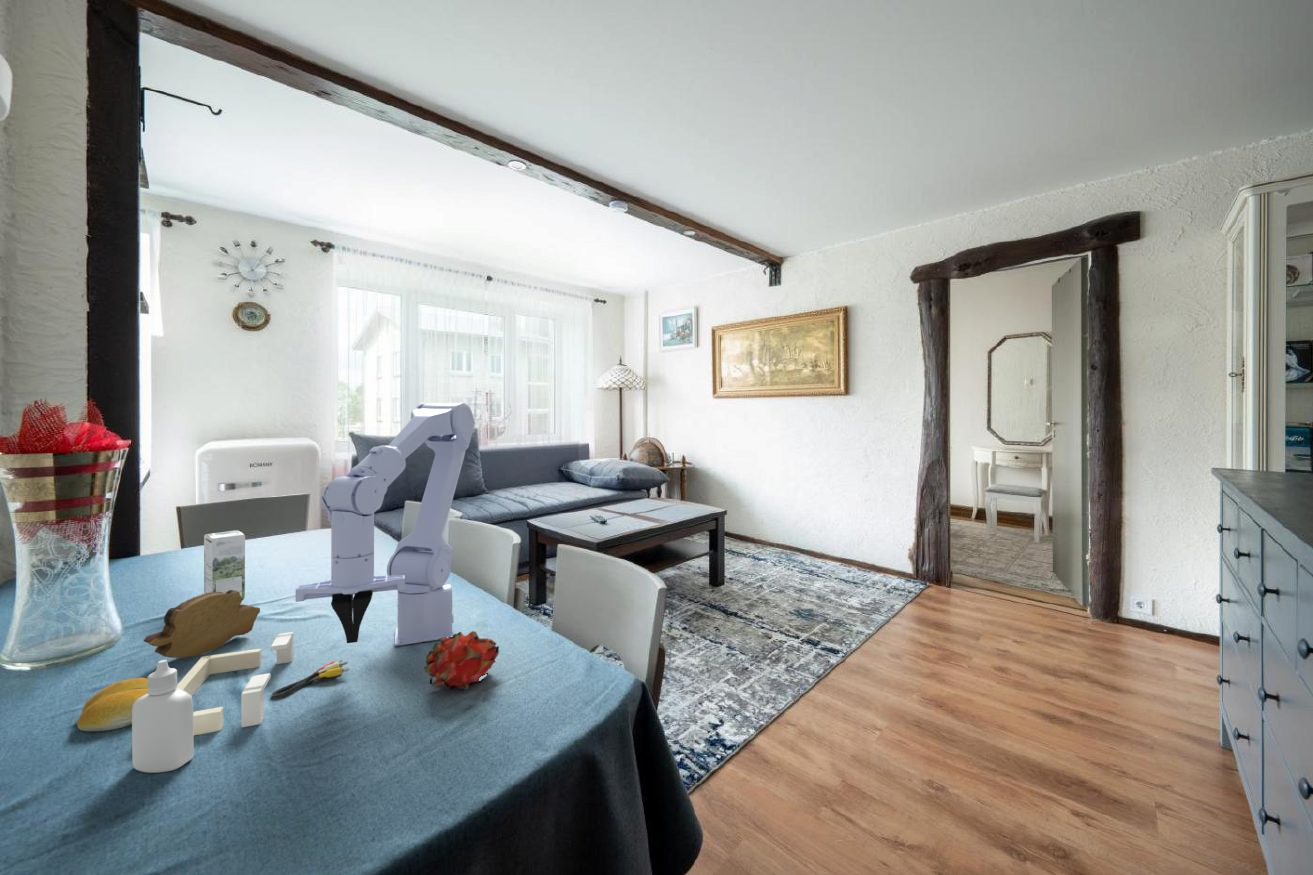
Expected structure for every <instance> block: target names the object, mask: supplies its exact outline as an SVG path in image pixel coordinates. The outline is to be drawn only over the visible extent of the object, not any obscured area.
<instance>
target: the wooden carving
mask: <svg viewBox="0 0 1313 875" xmlns="http://www.w3.org/2000/svg"><path fill="white" fill-rule="evenodd" d="M242 602H243V599H242V597H241V595H240V593H239V592H238V591H233V590H229V591H227V592H226V593H222V592H209V593H205V594H204V593H202V594H200V595H197V596H193V597H192V598H190V599H186V600H185V601H183V602H181V603H180V604H179V605H176V606H175V607H170V608H169V609H168V610H167V611H166V613H165V615H164V617H163V623H164V626H163V629H162V630H161V631H159V632H156V633H153V634H149V635H147V636H145V638H144V639H143V642H144V643H147V644H148V645H150V646H152V647H156V648H155V649H154V653H156V654H159V655H160V656H162V657H165V658H172V659H177V658H179V659H183V658H185V659H186V658H194V657H198V656H202V655H206V654H207V653H210V652H212V651H215V650H217V649H219V648H220V647H222V646H223V645H225V644H226V643H227V642H229V641H230V640H231V639H233V637H236V636H244V635H246V634H249V633H250V632H252V630H253V627H254V624H255V621H256V620H257V617H258V615H259V614H260V612H261V608H260V607H258V606H253V605H247V604H244V603H243V604H242Z"/></svg>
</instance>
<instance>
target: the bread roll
mask: <svg viewBox="0 0 1313 875" xmlns="http://www.w3.org/2000/svg"><path fill="white" fill-rule="evenodd" d="M146 694H148V677H147V678H146V677H135V678H134V677H133V678H130V679H123V680H120V681H117V682H114V683H111V684H110V685H108V686H106V687H104V688H102V689H101V690H99V691H98V692H96V694H94V695H93V696H91V697H90V698H89V699H88V700H87V701H86V703H85V704H84V706H83V707H82V711H81V714H80V716H79V718H78V719H77V727H78V729H79V730H81V731H82V732H90V731H91V732H106V731H113V730H118V729H120V728H121V729H122V728H125V727H128V726H132V707H133V704H134V702H135V701H136V700H137V699H139V698H140V697H142V696H144V695H146Z"/></svg>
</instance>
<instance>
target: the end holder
mask: <svg viewBox="0 0 1313 875" xmlns="http://www.w3.org/2000/svg"><path fill="white" fill-rule="evenodd" d="M262 653H263V652H262V648H255V649H253V648H252V649H249V650H248V649H247V650H242V651H234V652H227V653H226V652H225V653H218V654H213V655H212V654H211V655H204V656H201V657H200V659H199V660H198V661H197V662H195V664H194V665H193V666H192V667H191V669H190V670H188V672H187V673H186V674H185V675H184V677H183V678H182V679H181V680H180V681H179V682H177V687H176V688H179V689H181V690H184V691H185V692H187V693H188V694H190V695H191V697H192V698H193V695H194V694H195V693H196V692H197V691H198V690H199V688H200V687H202V684H203V683H204V682H205V681H206V680H207V678H208V677H209V675H215V674H221V673H228V672H229V673H230V672H233V671H234V672H235V671H241V670H246V669H254V668H259V667H261V665H262ZM223 727H224V706H218V707H213V708H206V709H202V710H196V711H193V734H194V736H198V735H200V736H201V735H204V734H209V733H215V732H220V731H221V730H222V729H223Z"/></svg>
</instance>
